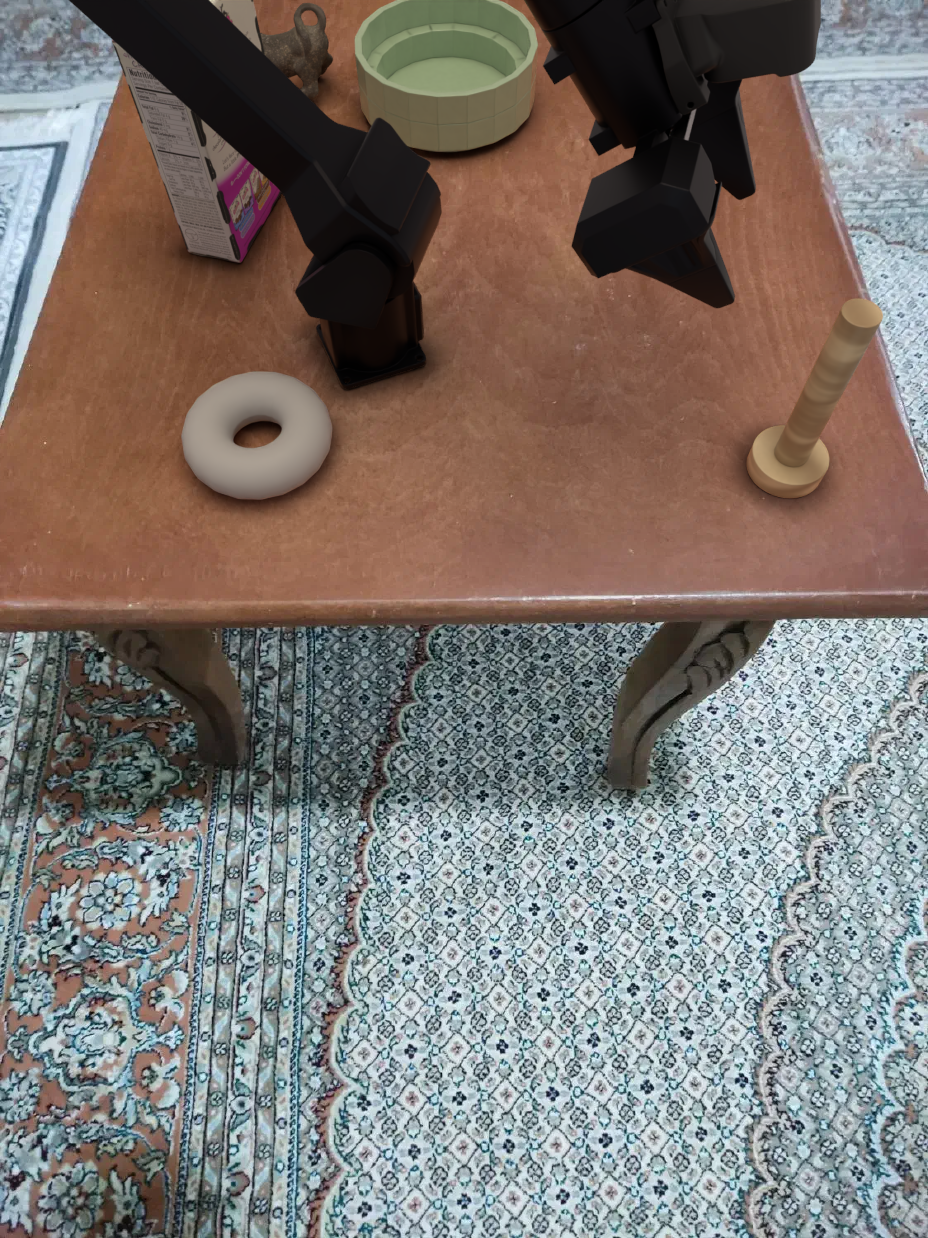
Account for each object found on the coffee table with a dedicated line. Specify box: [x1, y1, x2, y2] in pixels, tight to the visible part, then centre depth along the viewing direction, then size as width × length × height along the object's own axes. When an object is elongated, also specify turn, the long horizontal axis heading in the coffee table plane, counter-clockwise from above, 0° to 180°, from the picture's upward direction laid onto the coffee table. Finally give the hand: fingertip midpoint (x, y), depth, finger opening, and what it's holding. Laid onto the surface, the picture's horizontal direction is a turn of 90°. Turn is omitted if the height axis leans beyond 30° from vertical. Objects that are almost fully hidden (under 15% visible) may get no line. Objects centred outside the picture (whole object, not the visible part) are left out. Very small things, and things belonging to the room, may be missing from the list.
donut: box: [180, 370, 333, 501], centre depth 59 cm, size 10×4×10 cm
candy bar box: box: [111, 0, 282, 264], centre depth 65 cm, size 11×5×16 cm, turn 164°
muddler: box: [746, 297, 884, 499], centre depth 53 cm, size 5×5×14 cm
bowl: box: [354, 0, 539, 153], centre depth 76 cm, size 15×15×6 cm
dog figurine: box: [260, 2, 334, 100], centre depth 76 cm, size 12×6×7 cm, turn 88°
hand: (737, 247), depth 50 cm, fingers open, 9 cm apart
